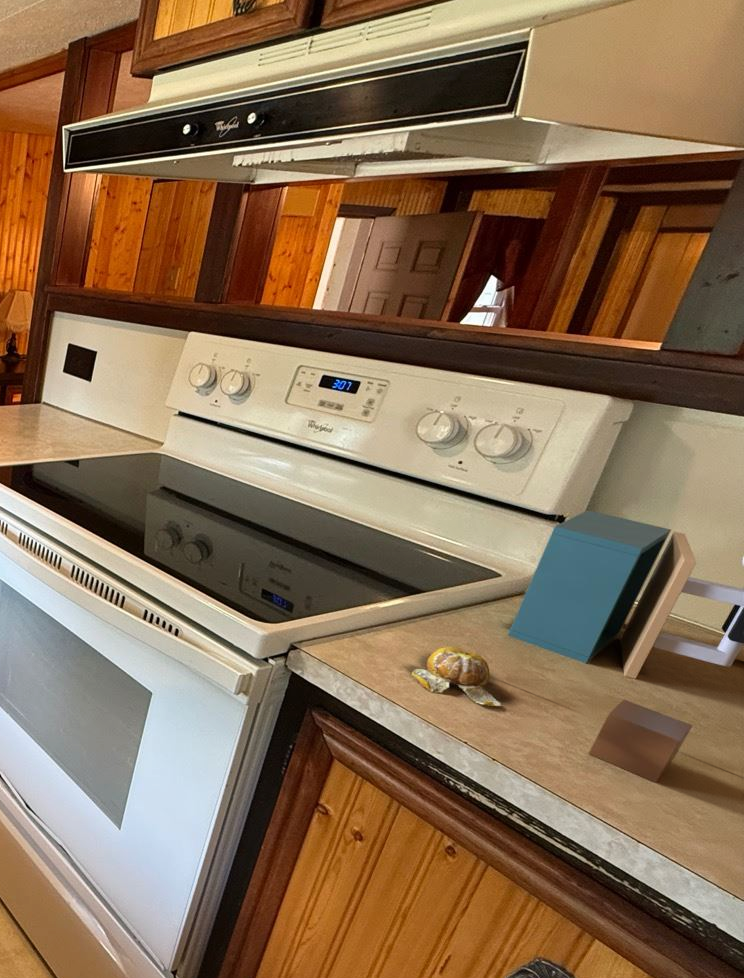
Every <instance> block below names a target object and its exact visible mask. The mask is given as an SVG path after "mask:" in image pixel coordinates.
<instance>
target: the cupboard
mask: <svg viewBox="0 0 744 978" xmlns="http://www.w3.org/2000/svg"><path fill="white" fill-rule="evenodd" d="M671 532H672V529H671V528H666V527H662V526H658V525H654V524H649V523H645V522H640V521H637V520H632V519H628V518H624V517H619V516H616V515H615V516H614V515H611V514H606V513H603V512H597V511H593V510H589V509H588V510H586V511H583V512H581V513H579V514H576V515H575V516H573V517H571V518H569V519H567V520H565V521H563V522H561V523H558V524H556V525H555V526H554V528H553V530H552V532H551V534H550V537H549V539H548V541H547V543H546V546H545V548H544V550H543V552H542V555H541V557H540V558H539V559H540V560H539V561H538V565H536V566H537V567H536V569H535V570H534V573H533V576H532V578H531V580H530V582H529V585H528V586H527V589H526V591H525V594H524V596H523V599H522V601H521V603H520V606H519V609H518V610H517V613H516V614H515V617H514V619H513V621H512V624H511V627H510V629H509V631H508V633H507V636H508V637H509V638H514V639H516V640H519V641H522V642H525V643H526V644H527V643H528V644H530V645H533V646H536V647H538V648H541V649H544V650H547V651H549V652H553V653H555V654H558V655H561V656H563V657H567V658H569V659H572V660H574V661H578V662H580V663H584V664H588V663H589V662H590V661H591V660H592V659H594V658H595V657H596V656H598V655H599V654H600V653H601V652H602V651H603V650H605V649H607V647H608V646H610V645H611V644H612V643H614V642H615V641H616V640H617V639H618V638H619V636H620V633H621V631H622V629H623V627H624V625H625V624H626V621H627V620H628V617H629V616H630V614H631V611H632V610H633V607H634V605H635V603H636V601H637V599H638V597H639V595H640V594H641V591H642V590H643V587H644V585H645V583H646V581H647V579H648V578H649V575H650V573H651V571H652V569H653V567H654V565H655V564H656V561H657V559H658V557H659V555H660V554H661V552H662V549H663V547H664V545H665V544H666V542H667V539H668V538H669V536H670V533H671Z"/></svg>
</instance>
